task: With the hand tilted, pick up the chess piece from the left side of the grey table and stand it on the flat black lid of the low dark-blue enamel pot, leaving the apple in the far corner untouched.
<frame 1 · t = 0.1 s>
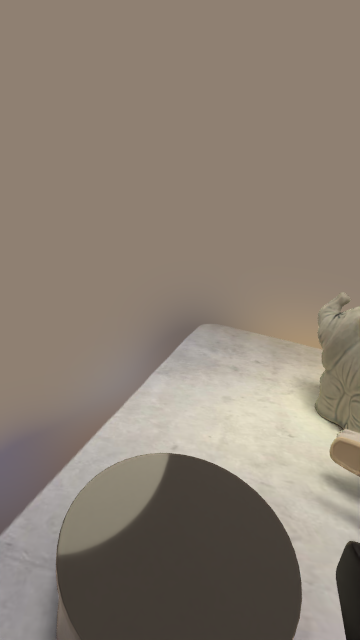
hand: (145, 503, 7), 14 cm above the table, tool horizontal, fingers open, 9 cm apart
pot: (166, 599, 19), on the table
teapot: (349, 418, 44), on the table
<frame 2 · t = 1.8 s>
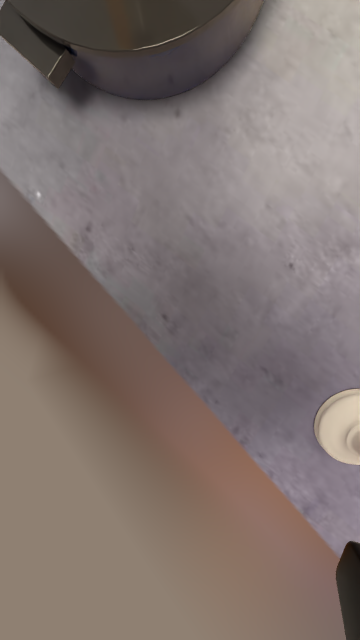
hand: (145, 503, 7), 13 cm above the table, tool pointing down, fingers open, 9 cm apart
chess piece: (353, 422, 20), on the table
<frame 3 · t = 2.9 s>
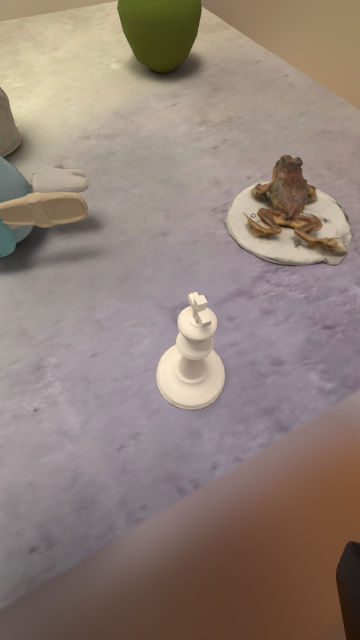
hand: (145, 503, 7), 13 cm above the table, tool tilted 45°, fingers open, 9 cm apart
apple: (161, 68, 46), on the table
chess piece: (190, 376, 23), on the table
toy figure: (10, 233, 30), on the table
frog figurine: (284, 221, 31), on the table
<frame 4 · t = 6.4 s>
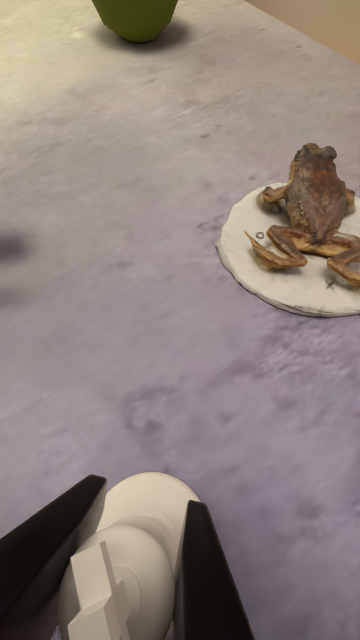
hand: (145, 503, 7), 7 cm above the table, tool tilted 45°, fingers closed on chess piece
apple: (138, 38, 35), on the table
chess piece: (149, 541, 13), on the table, touching gripper
frog figurine: (306, 243, 21), on the table
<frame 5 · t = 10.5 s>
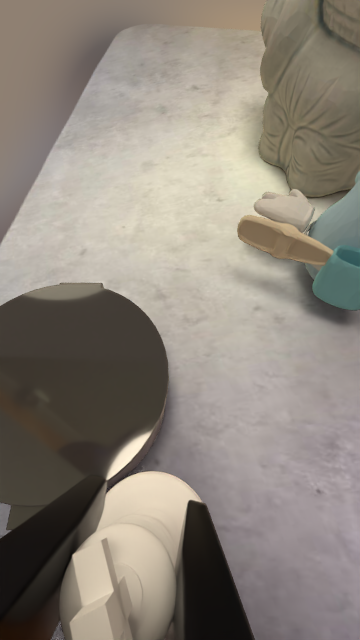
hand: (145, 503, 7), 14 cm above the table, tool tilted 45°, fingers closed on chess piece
pot: (79, 399, 22), on the table
chess piece: (150, 540, 13), point 7 cm above the table, touching gripper
toy figure: (333, 274, 28), on the table
teapot: (298, 153, 36), on the table
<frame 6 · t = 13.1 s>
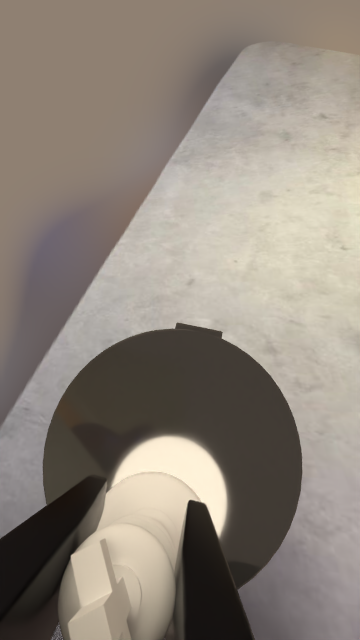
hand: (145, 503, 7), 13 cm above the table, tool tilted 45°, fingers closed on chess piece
pot: (173, 453, 20), on the table
chess piece: (149, 540, 13), point 6 cm above the table, touching gripper
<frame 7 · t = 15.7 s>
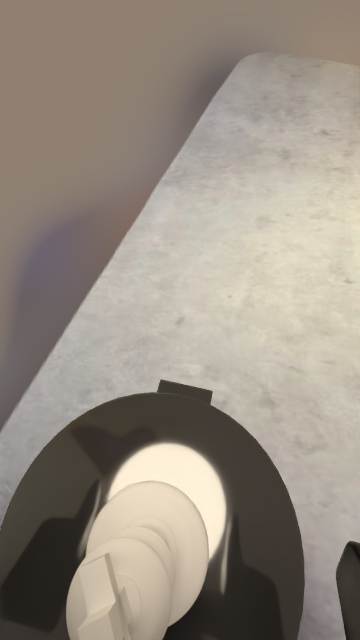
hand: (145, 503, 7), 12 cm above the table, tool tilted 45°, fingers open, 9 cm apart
pot: (156, 531, 17), on the table
chess piece: (148, 547, 13), point 5 cm above the table, touching pot
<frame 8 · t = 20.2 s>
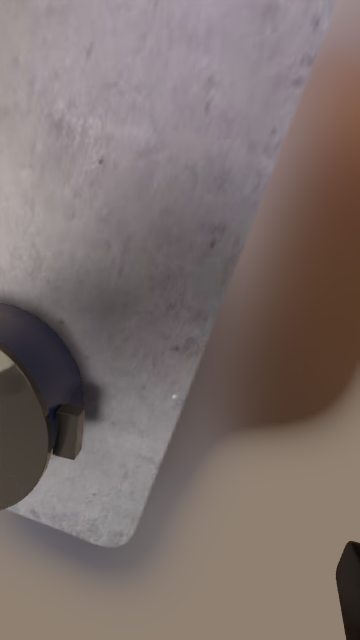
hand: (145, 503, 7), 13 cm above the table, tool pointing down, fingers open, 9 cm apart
pot: (3, 383, 23), on the table
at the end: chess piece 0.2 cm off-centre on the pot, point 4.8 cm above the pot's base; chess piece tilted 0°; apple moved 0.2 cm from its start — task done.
